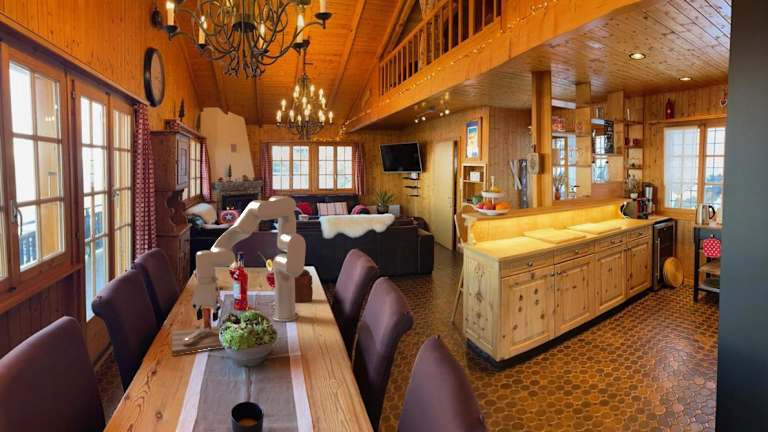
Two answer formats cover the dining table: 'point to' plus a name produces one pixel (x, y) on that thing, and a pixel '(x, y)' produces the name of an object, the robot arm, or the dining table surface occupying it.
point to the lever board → (200, 343)
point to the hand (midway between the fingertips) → (207, 319)
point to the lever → (203, 330)
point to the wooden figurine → (303, 287)
